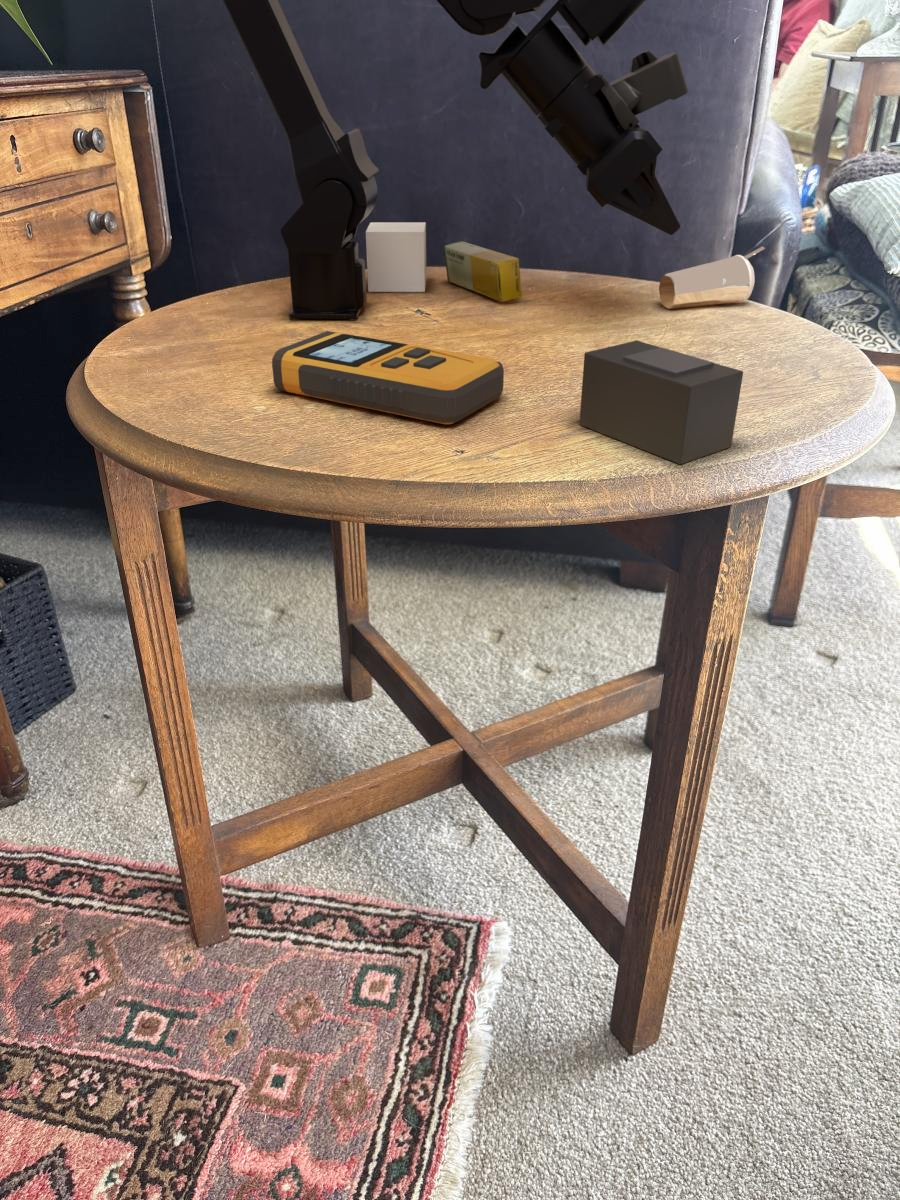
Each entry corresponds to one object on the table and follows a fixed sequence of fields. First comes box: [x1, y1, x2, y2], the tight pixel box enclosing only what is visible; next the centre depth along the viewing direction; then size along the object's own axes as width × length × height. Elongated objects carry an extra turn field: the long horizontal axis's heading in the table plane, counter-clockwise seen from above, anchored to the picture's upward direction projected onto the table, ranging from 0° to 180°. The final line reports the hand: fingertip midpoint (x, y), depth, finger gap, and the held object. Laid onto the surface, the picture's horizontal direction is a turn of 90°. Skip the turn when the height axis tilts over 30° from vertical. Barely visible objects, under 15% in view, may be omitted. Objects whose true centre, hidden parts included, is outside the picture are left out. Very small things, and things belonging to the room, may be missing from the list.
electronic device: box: [271, 330, 505, 425], centre depth 69 cm, size 8×16×3 cm, turn 59°
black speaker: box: [578, 340, 744, 465], centre depth 61 cm, size 5×5×9 cm
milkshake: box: [658, 245, 766, 310], centre depth 93 cm, size 4×5×10 cm
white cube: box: [365, 221, 427, 293], centre depth 100 cm, size 6×6×6 cm
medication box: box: [443, 241, 523, 303], centre depth 98 cm, size 12×3×4 cm, turn 27°
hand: (675, 230), depth 85 cm, fingers closed
